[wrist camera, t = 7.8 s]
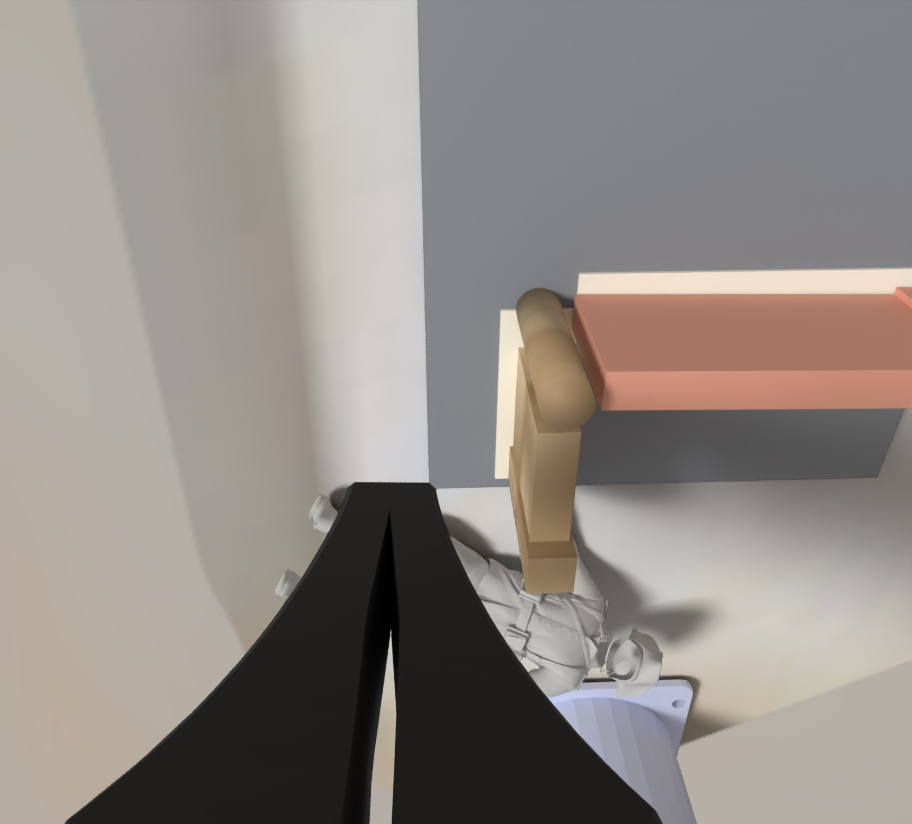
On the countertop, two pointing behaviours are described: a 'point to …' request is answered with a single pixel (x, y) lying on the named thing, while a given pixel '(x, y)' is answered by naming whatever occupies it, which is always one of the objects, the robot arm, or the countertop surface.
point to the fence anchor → (547, 442)
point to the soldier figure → (543, 623)
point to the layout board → (656, 205)
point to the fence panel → (747, 350)
